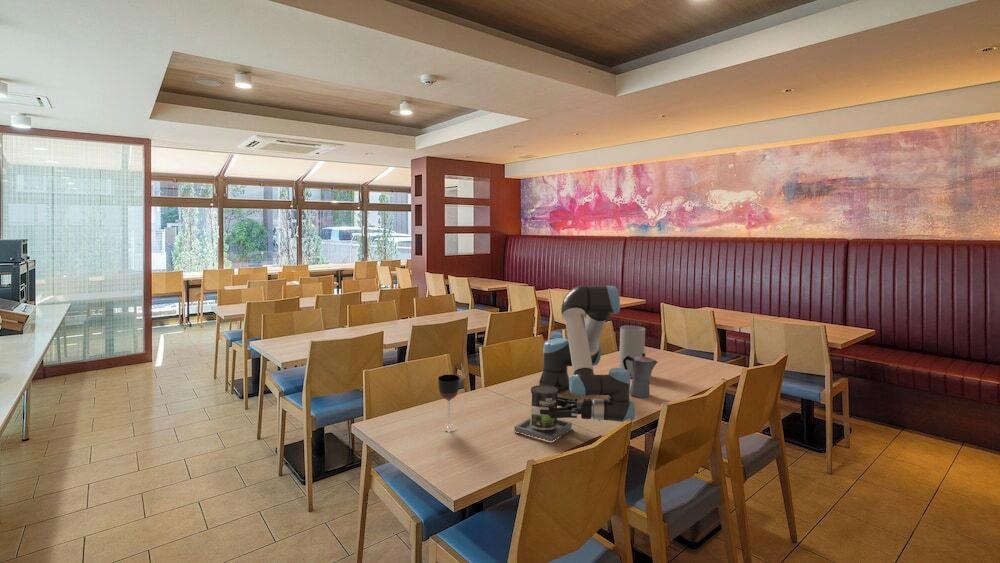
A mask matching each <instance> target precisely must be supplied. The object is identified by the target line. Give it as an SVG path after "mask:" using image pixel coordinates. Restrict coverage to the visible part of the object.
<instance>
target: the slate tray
mask: <svg viewBox="0 0 1000 563" xmlns="http://www.w3.org/2000/svg"><path fill="white" fill-rule="evenodd" d="M530 418H531V416H529V417H528V418H526V419H525V420H523V421H521V422H519V423H518V424H517V425H515V426H514V432H515V431H516V432H519V433H523V434H526V435H530V436H533V437H537V438H541V439H545V440H548V441H553V440H555V439H557V438H558V437H560V436H561V435H563V434H564V433H566V432H567V431H568V432H570V431H571V430H572V429H573V428H572V427H573V423H572V422H570V421H568V420H567V421H566V420H562V419H560V418H557V426H556V428H554V429H551V430H539V429H535V428H533V427H532V426H531V425H530ZM571 428H572V429H571ZM570 429H571V430H570ZM569 430H570V431H569ZM568 432H567V433H568ZM567 433H566V434H567ZM564 435H565V434H564ZM564 435H563V436H564ZM560 438H561V437H560Z"/></svg>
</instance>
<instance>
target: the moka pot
mask: <svg viewBox="0 0 1000 563" xmlns="http://www.w3.org/2000/svg"><path fill="white" fill-rule="evenodd" d="M626 360H630V361H633V374H634V375H633V378H632V381H631V384H630V392H629V395H631V396H632V397H636V398H641V399H646V398H650V396H651V395H650V394H651V393H650V377H651V375H652V372H653V369H654V368H655V366H656V365H657V364H658V362H659V361H657V360H656V359H653V358H652V357H649V356H646V353H645V352H644V353H642V356H636V357H630V356H627V357H626V358H624V360H623V364H624V367H625V369H626V370H627V365H626ZM631 375H632V374H630V376H631Z"/></svg>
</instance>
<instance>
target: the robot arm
mask: <svg viewBox="0 0 1000 563" xmlns="http://www.w3.org/2000/svg"><path fill="white" fill-rule="evenodd" d="M620 309H621V301H620V293H619V290H618V288H617V287H616V286H614V285H607V284H606V285H604V284H603V285H578V286H575V287H573V288H571V289H570V290H569V291H568V292H567V293H566V295H565V296H564V298H563V300H562V304H561V309H560V310H561V317H562V320H564V321H565V329H566V334H567V338H563V337H562V338H560V337H555V338H550V339H548V340H546V341H545V342H544V344H543V350H542V353H543V354H542V355H543V356H542V358H543V359H542V360H543V361H542V373H541V376H540V379H539V382H538V385H549V386H553V387H555V388H557V389H558V393H562V392H564V393H565V392H568V391H569V392H570V394H571V396H575V397H584V398H581V401H580V402H579V399H578V398H570V397H565V396H558V395H557V408H552V409H551V407H549V408H548V407H534V406H531V405H530V415H531V414H537V415H549V416H550V418H557V419H566V418H567V419H577V418H578V415H580V418H581V419H583V420H592V419H593V420H595V421H597V420H598V422H601V421H610V422H613V421H614V422H621V423H625V422H624V421H625V420H627V419H630V420H631V421H632V422H634V421H635V417H636V405H635V402H634V401H631V400H630V389H631V378H630V373H629V371H628V370H626V369H623V368H619V367H613V368H610V369H609V372H608V374H595V372H594V366H597V365H598V364H599V363H600V361H601V358H602V357H601V356H602V348H601V344H600V343H599V340H600V337H601V335H602V331H603V329H604V326H605V323H606V321H608V320H610V319H611V317H612V315H613V314H614V315H616V314H619V312H620ZM568 367H572V372H573V373H572V375H570V376H569V374H568ZM586 396H587V397H588V396H589V397H591V396H593V397H594V396H601V397H602V396H608V399H604V398H602V399H601V398H593V399H591V398H585V397H586Z"/></svg>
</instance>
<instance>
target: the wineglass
mask: <svg viewBox="0 0 1000 563" xmlns="http://www.w3.org/2000/svg"><path fill="white" fill-rule="evenodd" d="M437 378H438V379H437V381H438V384H437V385H438V390H439V395H440V396H441V397H442V398H443V399H444V400H446V401H447V424H448V426H447V428H450V427H451V426H450V424H451V400H452V399H455V398H456V396H457V395H458V393H459V387H460V376H459V375H456V374H443V375H440V376H438V377H437Z"/></svg>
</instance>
